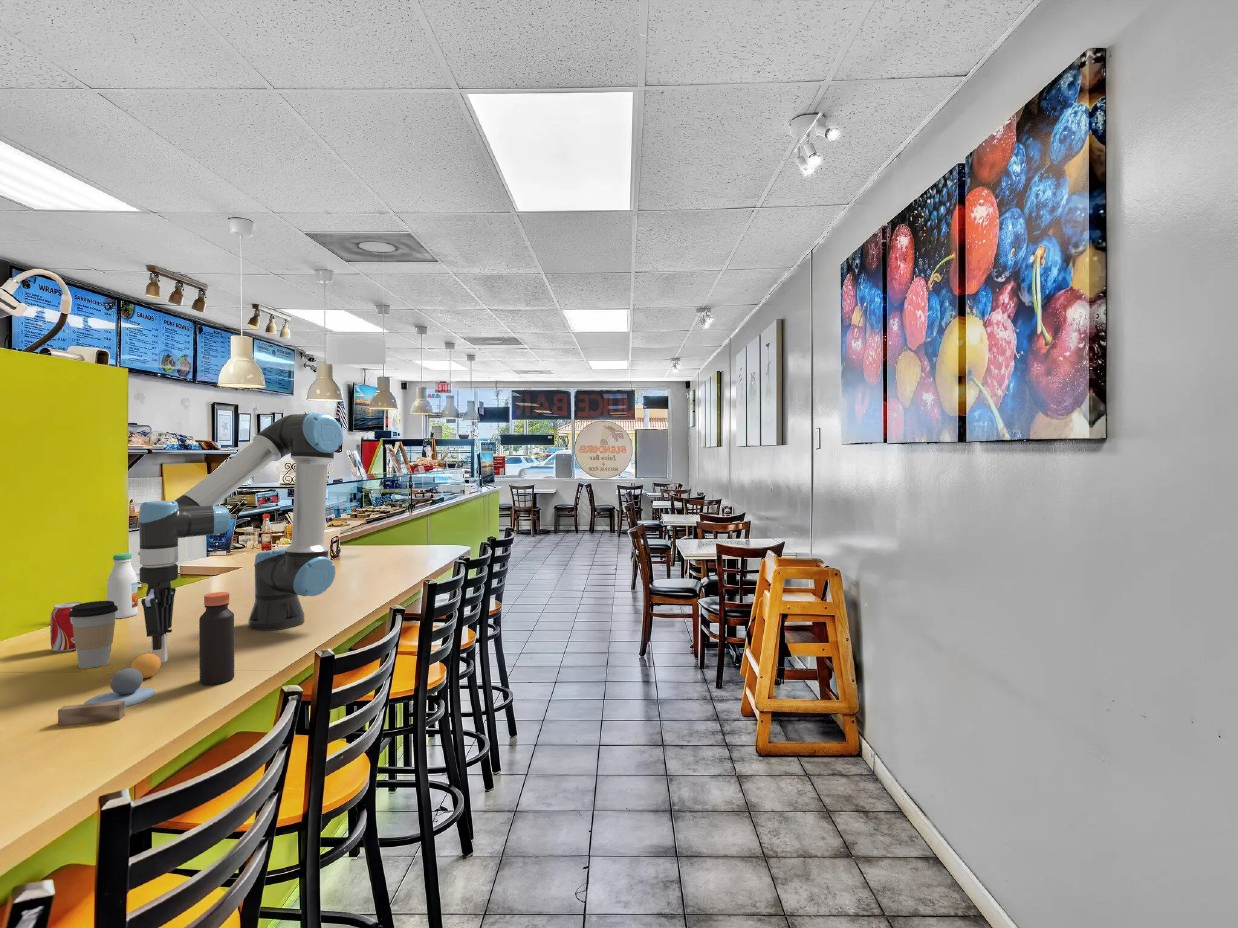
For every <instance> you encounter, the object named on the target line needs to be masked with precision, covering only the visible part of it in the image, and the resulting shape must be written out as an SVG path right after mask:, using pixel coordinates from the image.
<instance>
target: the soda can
mask: <svg viewBox="0 0 1238 928" xmlns="http://www.w3.org/2000/svg"><path fill="white" fill-rule="evenodd" d="M82 603H83V602H80V601H72V602H64V603H63V602H62V603H58V604H55V605H54V606H53V609H52V611H51V612H50V620H49V621H50V622H49V623H50V626H49V627H50V628H49V629H50V632H49V633H50V634H49V635H50V636H49V637H50V647H51V651H55V652H56V653H67V652H68V651H69V652H73V651H72V650H74V651H77V650H76V647H75V640H74V632H73V619H72V617H69V616H68V615H69V612H70V611H71V610H72V607H73V606H75V605H78V604H82ZM69 652H68V653H69Z"/></svg>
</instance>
